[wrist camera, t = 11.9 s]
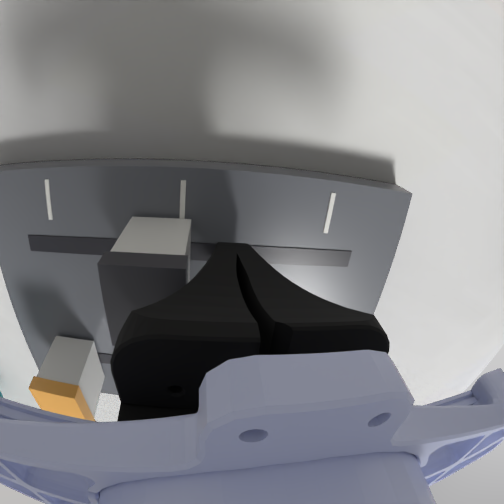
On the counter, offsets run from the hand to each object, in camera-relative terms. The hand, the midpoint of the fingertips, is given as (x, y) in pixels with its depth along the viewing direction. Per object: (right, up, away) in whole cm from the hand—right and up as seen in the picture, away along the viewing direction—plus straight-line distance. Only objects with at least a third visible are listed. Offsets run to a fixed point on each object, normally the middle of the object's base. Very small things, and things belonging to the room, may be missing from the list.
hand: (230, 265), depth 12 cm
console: (-3, -2, +4) cm, 5 cm away
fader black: (-3, +1, 0) cm, 3 cm away
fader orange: (-9, -5, +3) cm, 11 cm away
